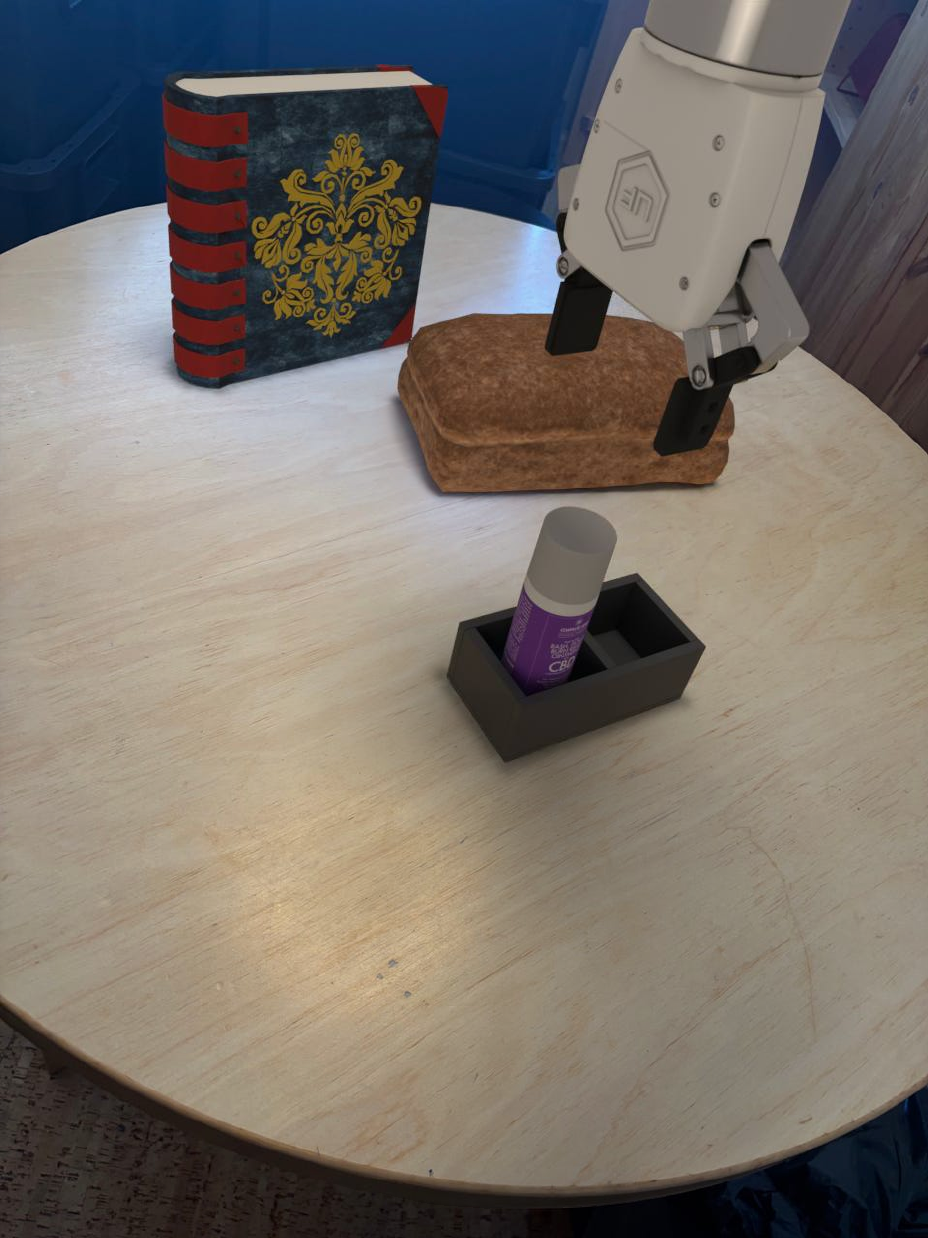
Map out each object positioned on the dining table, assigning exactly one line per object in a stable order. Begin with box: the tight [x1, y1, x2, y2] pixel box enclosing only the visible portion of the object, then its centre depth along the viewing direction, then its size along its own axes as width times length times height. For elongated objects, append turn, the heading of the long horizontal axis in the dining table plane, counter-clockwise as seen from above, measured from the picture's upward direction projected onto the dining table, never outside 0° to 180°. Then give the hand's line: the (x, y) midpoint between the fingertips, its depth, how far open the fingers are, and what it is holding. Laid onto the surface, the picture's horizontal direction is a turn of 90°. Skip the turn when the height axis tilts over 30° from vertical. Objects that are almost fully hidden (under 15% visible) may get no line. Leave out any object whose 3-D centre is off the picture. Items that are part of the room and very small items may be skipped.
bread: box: [397, 312, 736, 493], centre depth 87 cm, size 17×29×11 cm, turn 106°
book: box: [161, 63, 449, 389], centre depth 86 cm, size 25×7×25 cm, turn 129°
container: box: [501, 505, 618, 697], centre depth 61 cm, size 5×5×15 cm
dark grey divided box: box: [446, 572, 707, 763], centre depth 66 cm, size 8×15×6 cm, turn 119°
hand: (621, 397), depth 49 cm, fingers open, 9 cm apart
